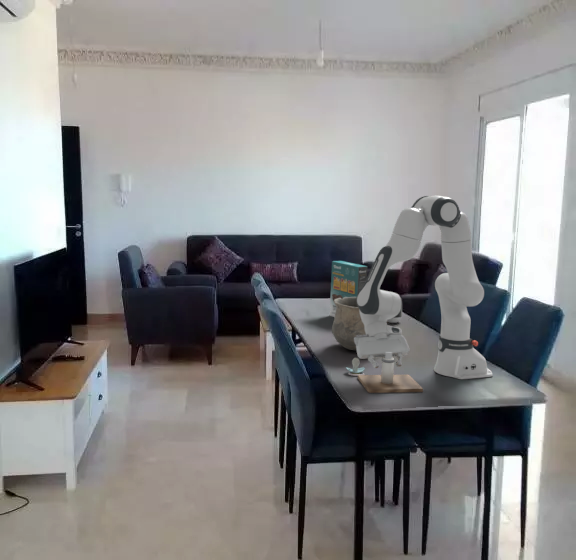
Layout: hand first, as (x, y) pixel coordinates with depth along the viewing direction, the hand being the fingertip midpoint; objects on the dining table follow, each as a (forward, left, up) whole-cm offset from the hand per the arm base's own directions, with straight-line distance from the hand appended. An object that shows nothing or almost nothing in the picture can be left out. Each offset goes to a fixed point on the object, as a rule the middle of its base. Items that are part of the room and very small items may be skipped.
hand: (388, 366), depth 228 cm
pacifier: (+9, -13, -7) cm, 18 cm away
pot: (-1, -48, -7) cm, 49 cm away
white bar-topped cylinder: (0, 0, -6) cm, 6 cm away
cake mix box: (-9, -104, -7) cm, 105 cm away
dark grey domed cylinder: (-32, -98, -7) cm, 104 cm away
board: (-1, 0, -7) cm, 7 cm away
